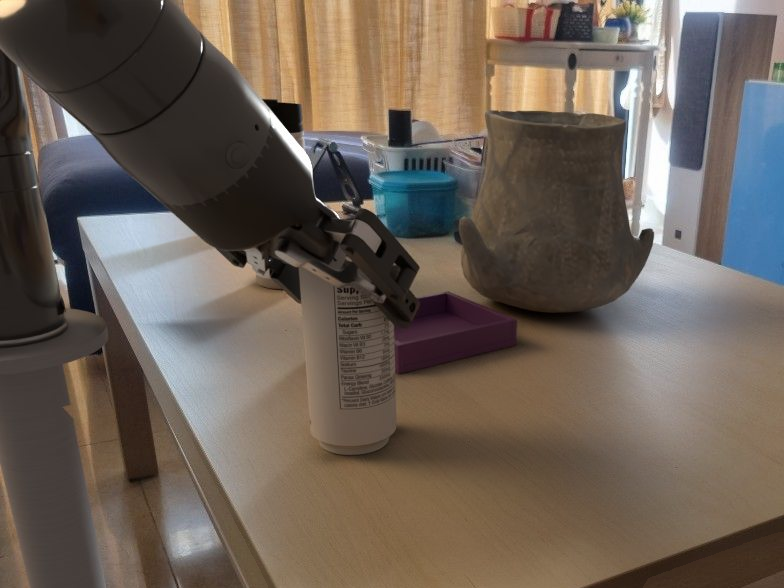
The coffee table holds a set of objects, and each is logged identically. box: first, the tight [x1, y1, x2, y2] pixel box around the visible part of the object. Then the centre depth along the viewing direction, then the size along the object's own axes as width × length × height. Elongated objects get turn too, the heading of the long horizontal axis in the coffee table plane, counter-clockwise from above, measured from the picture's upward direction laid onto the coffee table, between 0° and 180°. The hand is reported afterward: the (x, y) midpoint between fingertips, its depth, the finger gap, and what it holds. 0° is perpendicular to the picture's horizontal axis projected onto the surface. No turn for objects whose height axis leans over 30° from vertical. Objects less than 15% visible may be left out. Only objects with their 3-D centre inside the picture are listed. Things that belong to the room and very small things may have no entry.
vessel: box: [458, 109, 655, 314], centre depth 90 cm, size 22×22×20 cm
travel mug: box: [255, 98, 306, 290], centre depth 92 cm, size 6×7×20 cm
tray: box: [394, 290, 518, 375], centre depth 79 cm, size 13×11×3 cm
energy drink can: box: [299, 243, 398, 456], centre depth 57 cm, size 6×6×15 cm
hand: (358, 304), depth 57 cm, fingers open, 8 cm apart
